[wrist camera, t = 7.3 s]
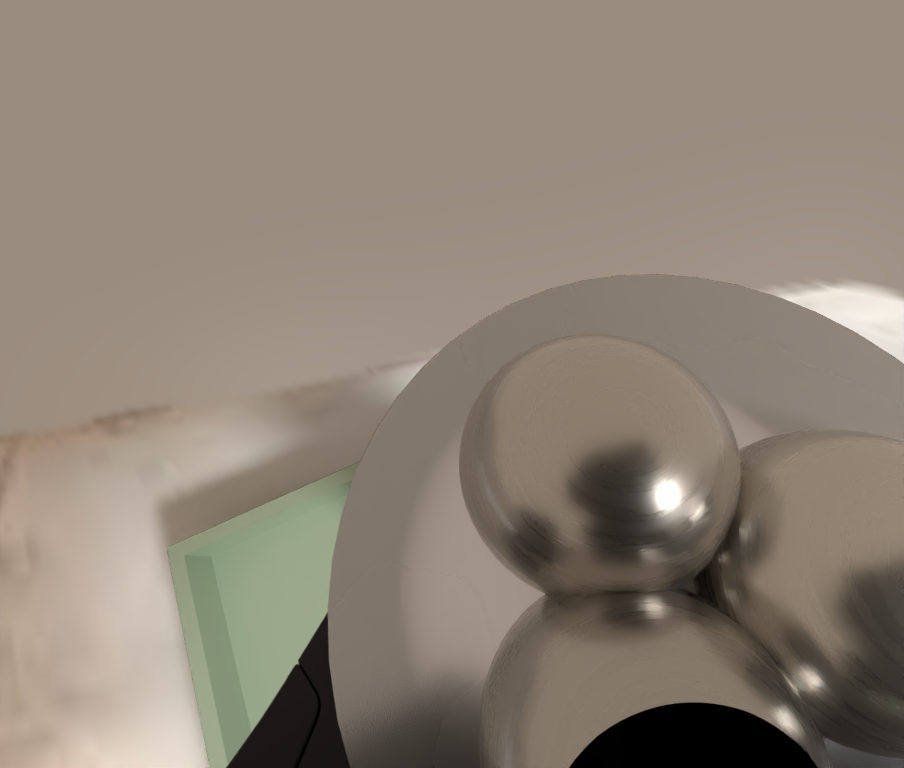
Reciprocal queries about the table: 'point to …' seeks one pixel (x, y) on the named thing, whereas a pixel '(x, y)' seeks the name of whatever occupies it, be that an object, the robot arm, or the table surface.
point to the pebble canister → (629, 542)
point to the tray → (255, 604)
